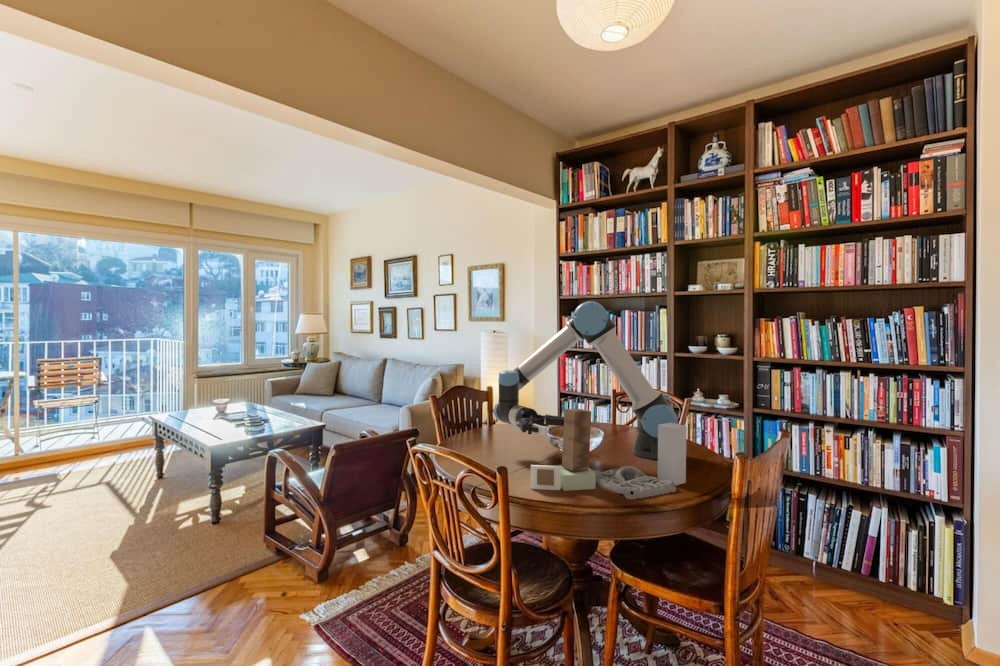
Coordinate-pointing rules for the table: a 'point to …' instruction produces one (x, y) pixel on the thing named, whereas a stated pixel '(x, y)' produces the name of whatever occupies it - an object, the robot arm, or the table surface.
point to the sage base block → (577, 479)
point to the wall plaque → (633, 482)
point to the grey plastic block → (672, 453)
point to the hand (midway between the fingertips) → (562, 429)
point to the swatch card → (545, 477)
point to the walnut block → (576, 439)
